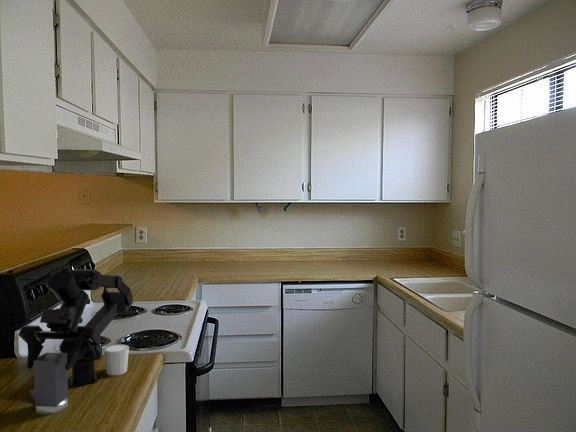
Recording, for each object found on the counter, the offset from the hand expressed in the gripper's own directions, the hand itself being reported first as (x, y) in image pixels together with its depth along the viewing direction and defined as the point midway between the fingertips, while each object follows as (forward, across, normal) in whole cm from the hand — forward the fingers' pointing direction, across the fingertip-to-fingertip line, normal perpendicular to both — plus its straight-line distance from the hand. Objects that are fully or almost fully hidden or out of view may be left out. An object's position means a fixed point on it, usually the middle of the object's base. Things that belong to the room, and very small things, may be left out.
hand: (47, 368), depth 104 cm
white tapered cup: (-9, +7, +24) cm, 26 cm away
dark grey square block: (+5, 0, +7) cm, 9 cm away
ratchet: (+5, -3, +10) cm, 11 cm away
